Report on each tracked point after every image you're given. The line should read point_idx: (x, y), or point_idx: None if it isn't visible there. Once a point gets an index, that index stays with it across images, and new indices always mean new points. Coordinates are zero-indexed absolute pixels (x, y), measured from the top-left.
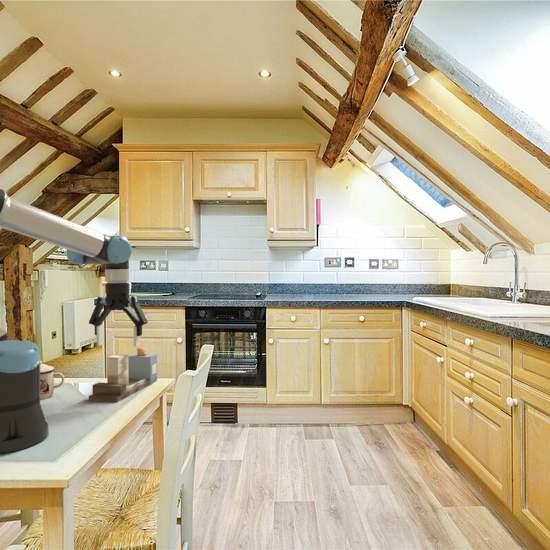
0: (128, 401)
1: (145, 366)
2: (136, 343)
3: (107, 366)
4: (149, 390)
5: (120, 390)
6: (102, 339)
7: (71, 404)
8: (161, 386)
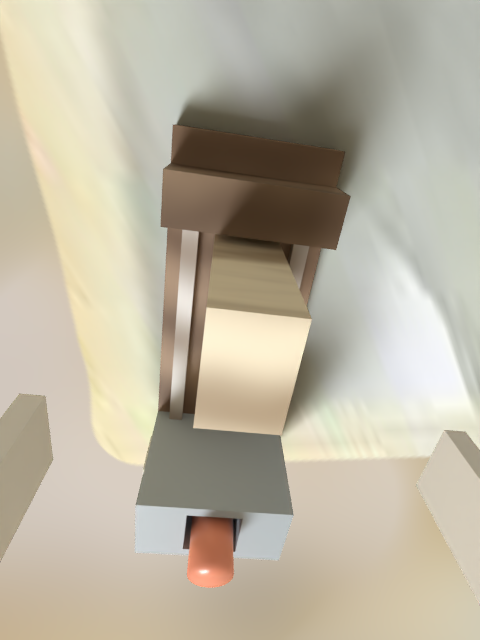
0: (126, 145)
1: (174, 461)
2: (5, 426)
3: (296, 287)
4: (119, 322)
5: (168, 165)
6: (448, 518)
7: (406, 82)
8: (98, 376)
